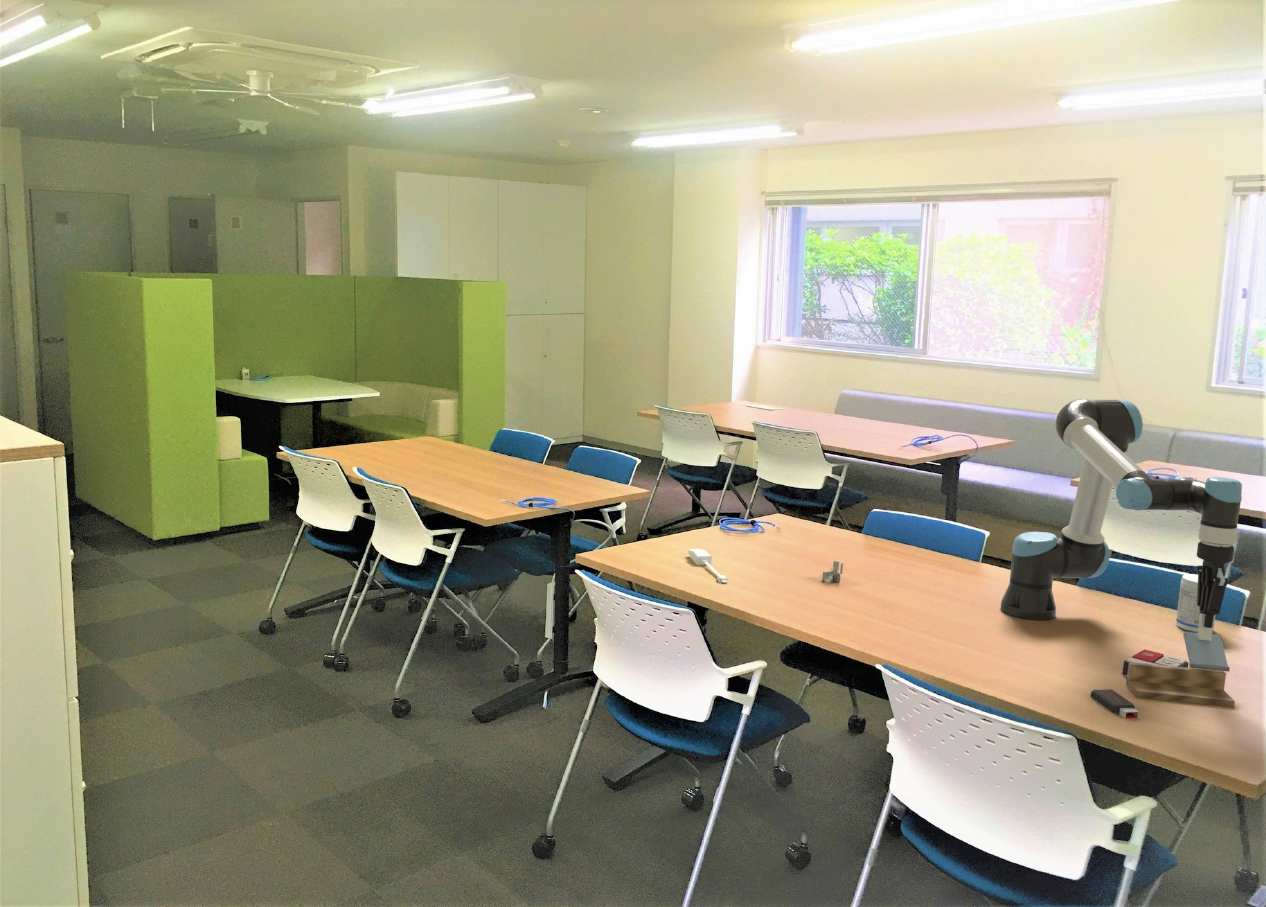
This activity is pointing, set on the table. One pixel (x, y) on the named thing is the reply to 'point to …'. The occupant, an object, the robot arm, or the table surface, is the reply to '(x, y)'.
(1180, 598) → the supplement tub
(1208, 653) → the light blue flat tile
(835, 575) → the architectural model
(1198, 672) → the wooden l-shaped bracket
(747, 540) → the table surface
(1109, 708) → the usb drive
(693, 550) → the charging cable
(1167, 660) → the calculator
